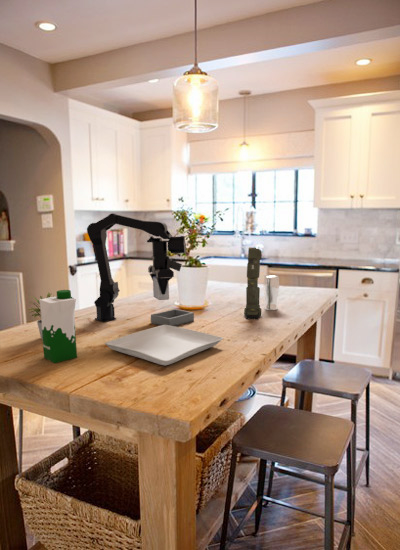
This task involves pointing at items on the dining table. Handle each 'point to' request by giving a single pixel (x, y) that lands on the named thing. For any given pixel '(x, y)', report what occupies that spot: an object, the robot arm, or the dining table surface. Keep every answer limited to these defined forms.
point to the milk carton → (58, 327)
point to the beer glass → (271, 291)
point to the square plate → (164, 344)
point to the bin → (172, 317)
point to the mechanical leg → (253, 285)
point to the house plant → (39, 314)
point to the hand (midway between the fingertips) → (161, 292)
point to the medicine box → (158, 293)
